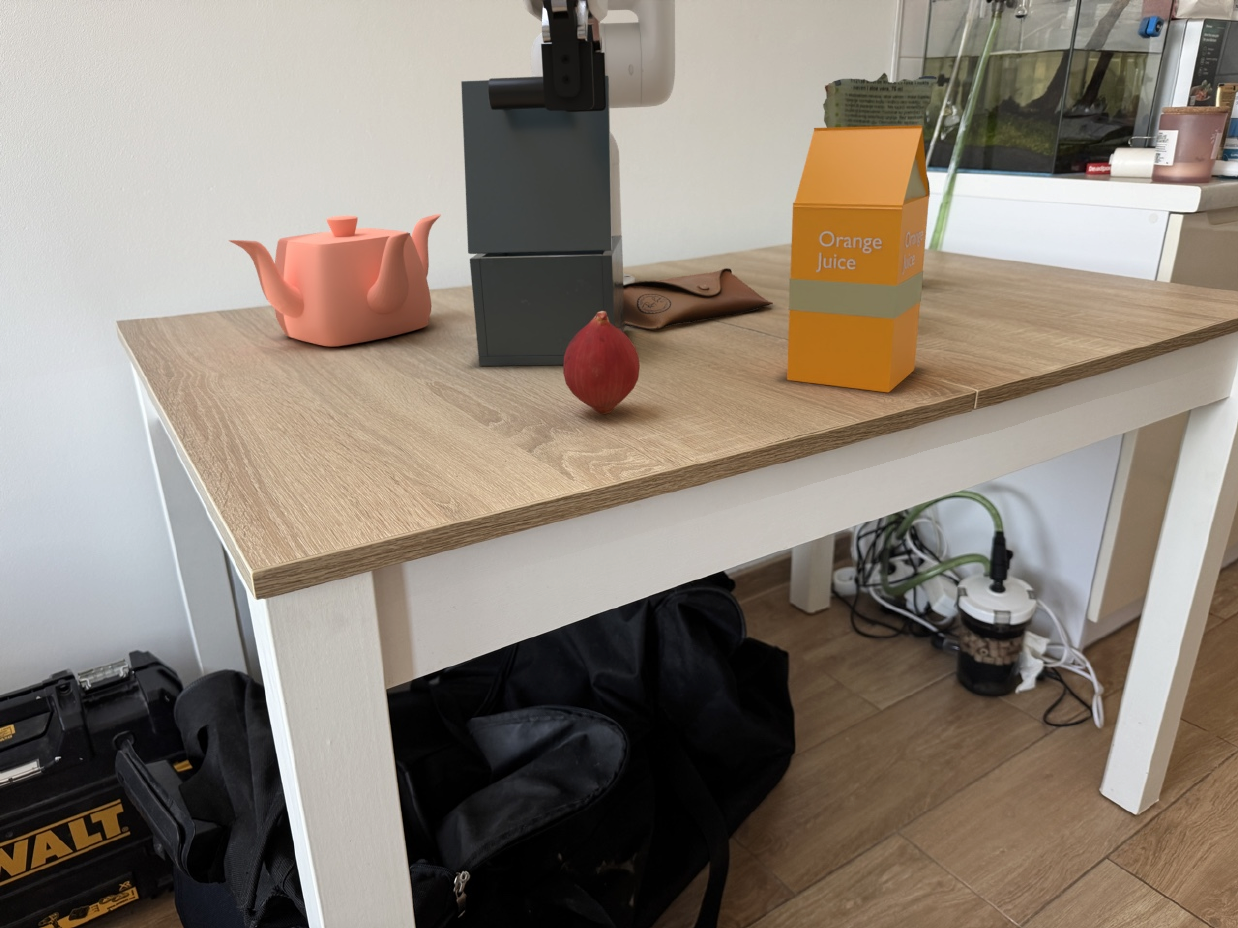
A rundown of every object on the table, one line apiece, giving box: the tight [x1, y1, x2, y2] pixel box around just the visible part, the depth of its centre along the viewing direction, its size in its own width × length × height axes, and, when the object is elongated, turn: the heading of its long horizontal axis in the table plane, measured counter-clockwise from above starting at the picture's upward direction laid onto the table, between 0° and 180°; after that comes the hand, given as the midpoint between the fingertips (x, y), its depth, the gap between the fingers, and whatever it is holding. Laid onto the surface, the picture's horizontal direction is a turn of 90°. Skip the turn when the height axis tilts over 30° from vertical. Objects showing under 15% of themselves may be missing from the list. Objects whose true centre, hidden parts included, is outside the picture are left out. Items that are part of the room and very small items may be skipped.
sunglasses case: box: [623, 267, 774, 330], centre depth 103 cm, size 18×7×7 cm
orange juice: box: [786, 125, 930, 393], centre depth 75 cm, size 8×9×20 cm
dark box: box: [469, 235, 626, 367], centre depth 89 cm, size 14×13×10 cm
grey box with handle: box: [460, 76, 612, 255], centre depth 77 cm, size 15×13×6 cm
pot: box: [228, 213, 442, 347], centre depth 98 cm, size 18×17×12 cm
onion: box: [562, 311, 641, 415], centre depth 69 cm, size 6×6×8 cm
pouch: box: [822, 72, 939, 198], centre depth 111 cm, size 11×12×25 cm
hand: (578, 110), depth 64 cm, fingers open, 9 cm apart
